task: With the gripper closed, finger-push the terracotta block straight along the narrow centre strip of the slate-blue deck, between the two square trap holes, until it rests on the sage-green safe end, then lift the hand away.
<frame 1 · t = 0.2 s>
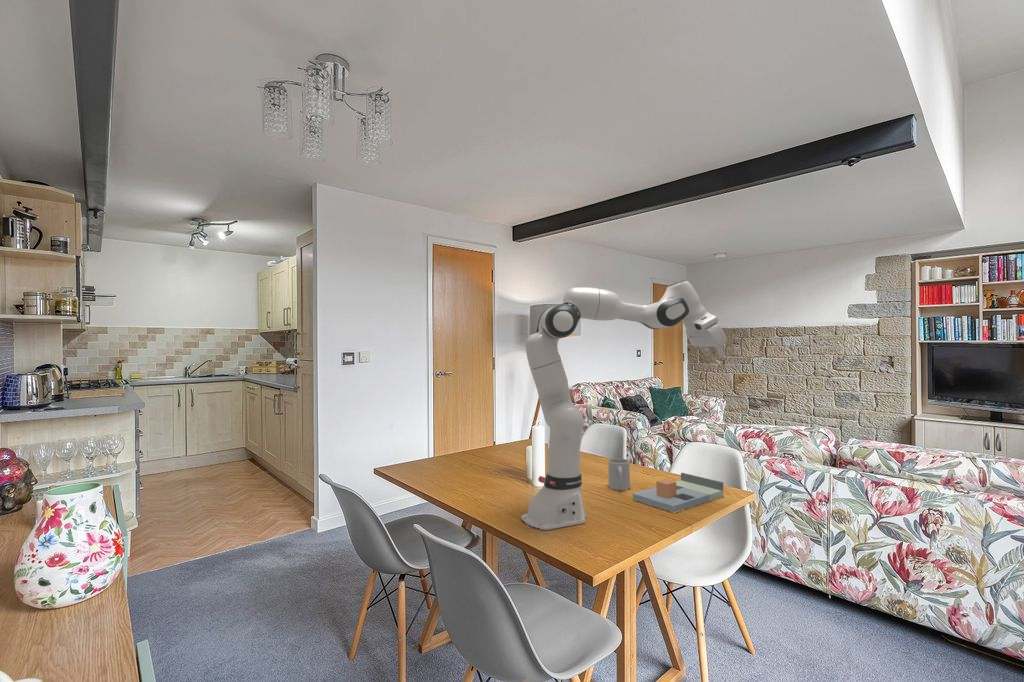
hand: (715, 355, 171), 54 cm above the table, tool tilted 30°, fingers open, 8 cm apart
mug: (619, 489, 194), on the table
block: (666, 495, 176), point 2 cm above the table, touching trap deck
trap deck: (678, 498, 180), on the table
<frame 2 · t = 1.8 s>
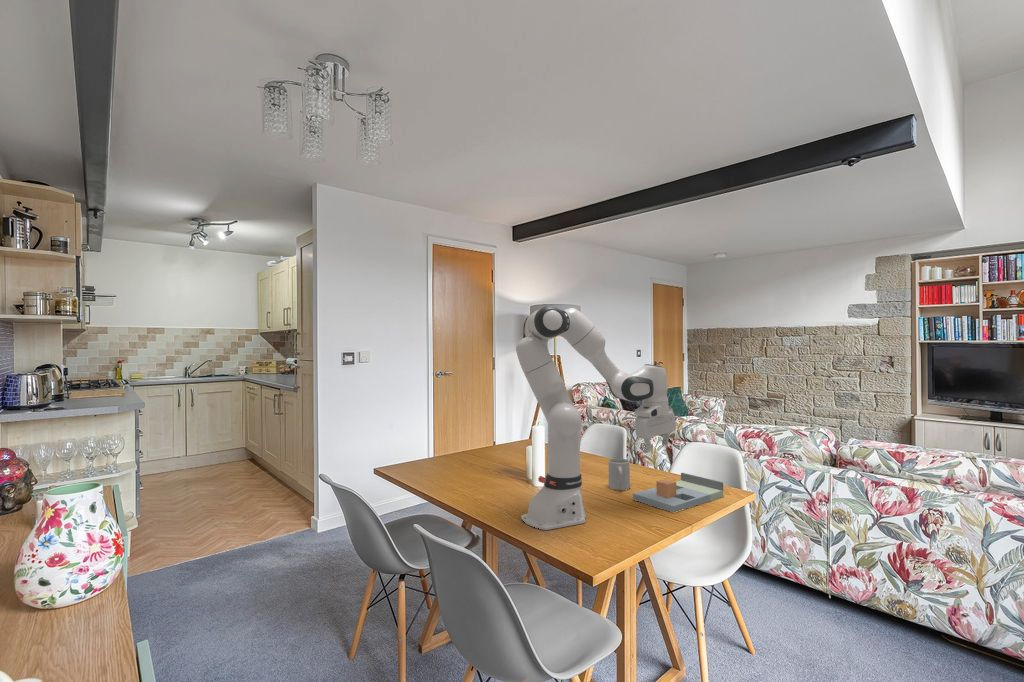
hand: (657, 447, 173), 21 cm above the table, tool pointing down, fingers open, 8 cm apart
nothing on the table moved.
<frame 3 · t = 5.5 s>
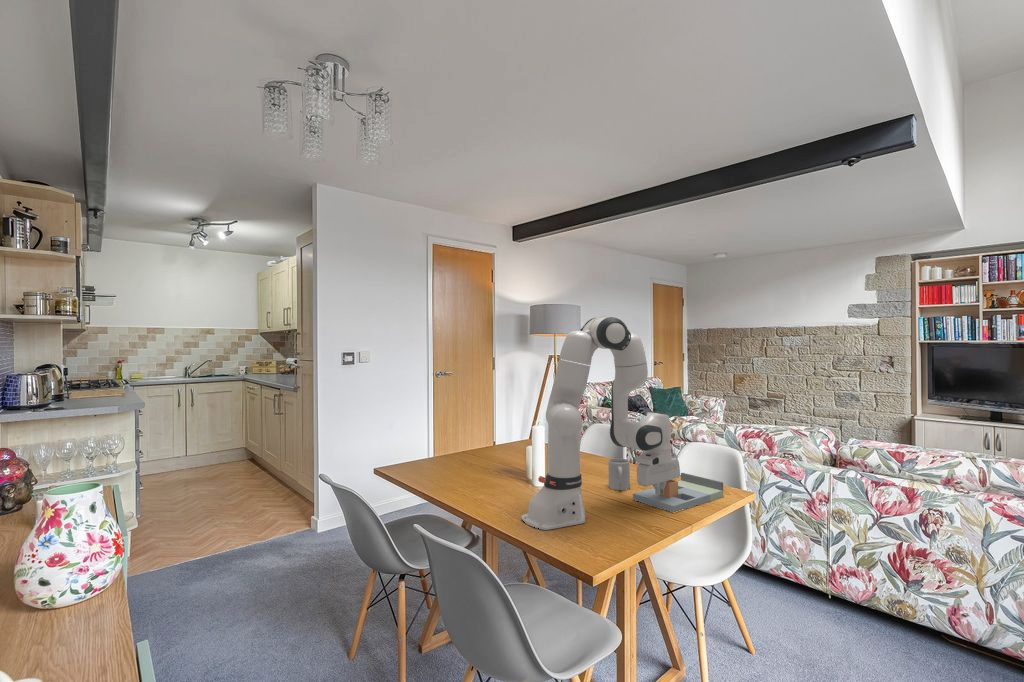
hand: (659, 494, 174), 4 cm above the table, tool pointing down, fingers closed
block: (668, 494, 177), point 3 cm above the table, touching gripper
everything else where it was.
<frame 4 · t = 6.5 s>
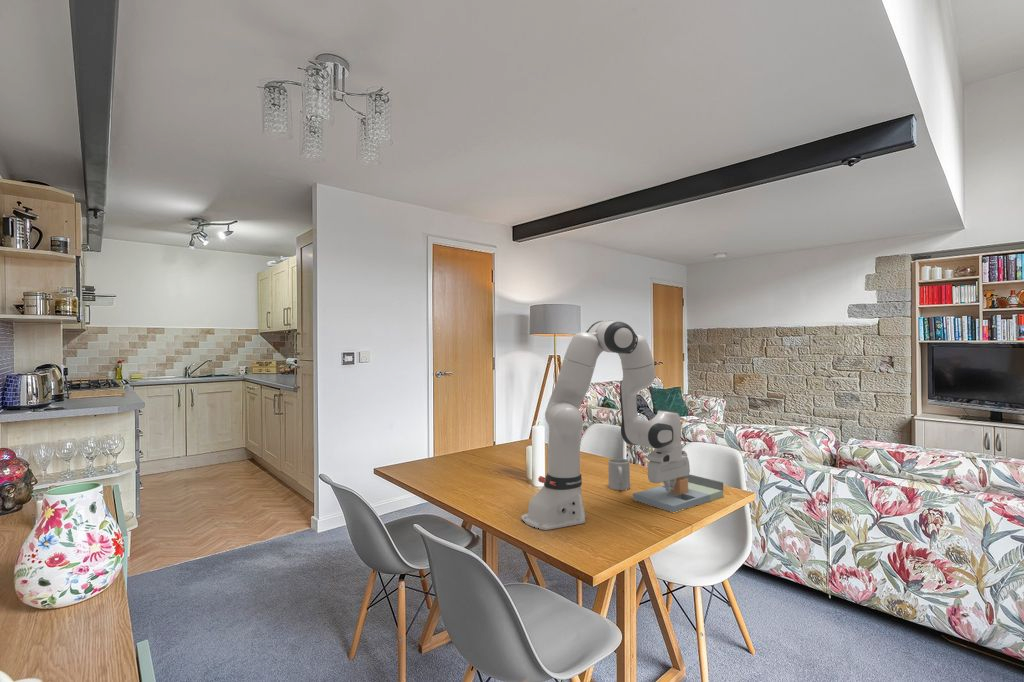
hand: (670, 491, 177), 4 cm above the table, tool pointing down, fingers closed
block: (678, 492, 180), point 3 cm above the table, touching gripper
everything else where it was.
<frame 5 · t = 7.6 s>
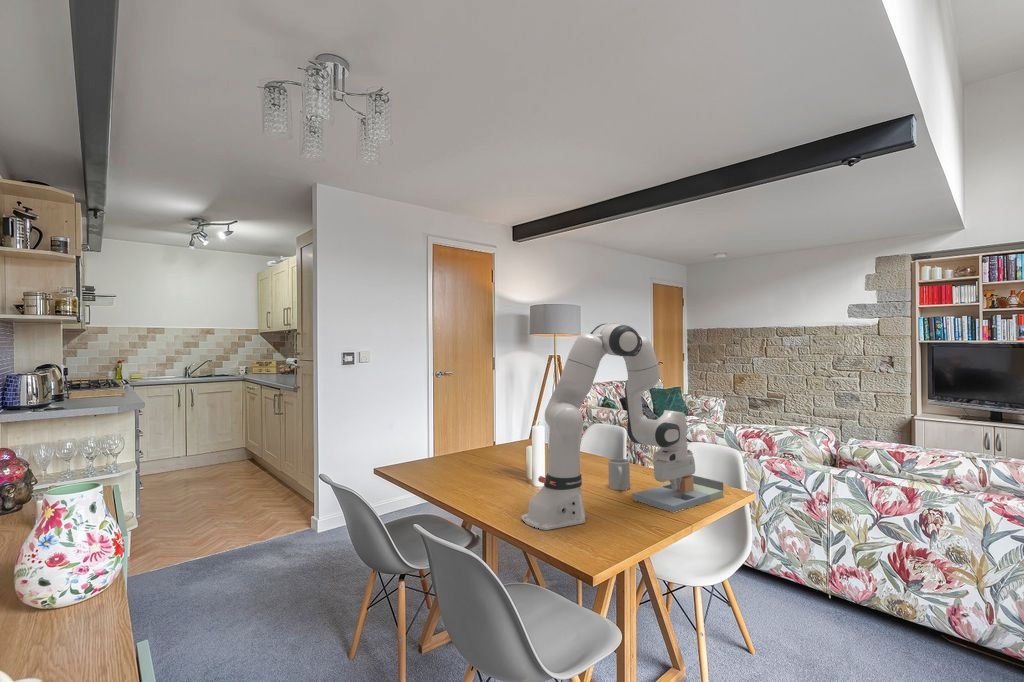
hand: (675, 489, 179), 4 cm above the table, tool pointing down, fingers closed
block: (683, 490, 182), point 2 cm above the table, touching gripper, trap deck
everything else where it was.
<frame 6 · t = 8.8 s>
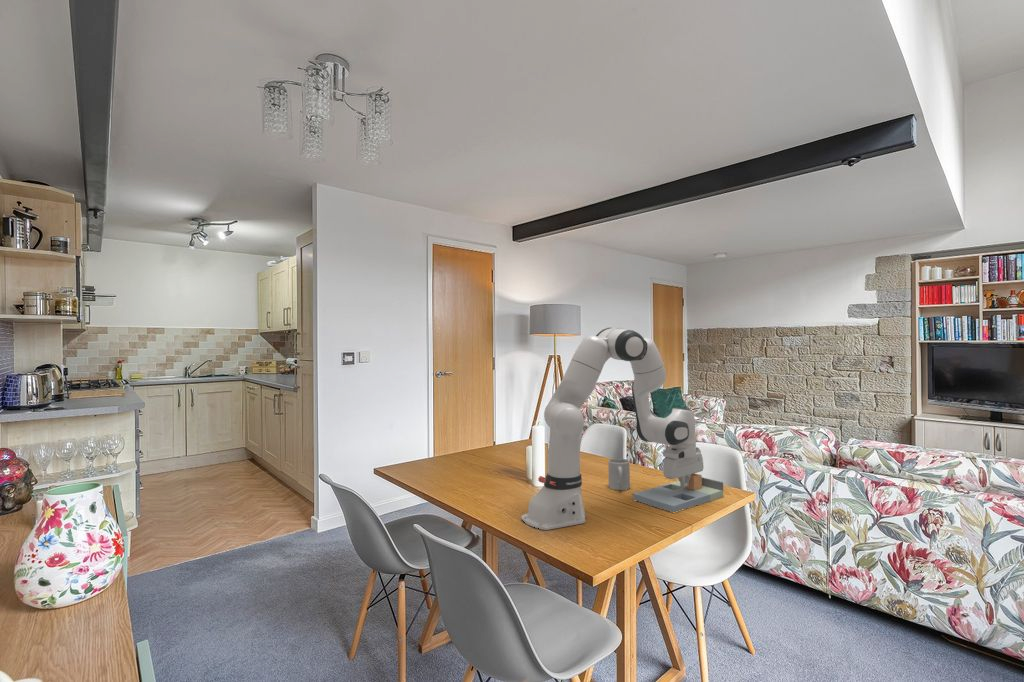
hand: (684, 486, 182), 4 cm above the table, tool pointing down, fingers closed
block: (692, 487, 185), point 3 cm above the table, touching gripper, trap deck
everything else where it was.
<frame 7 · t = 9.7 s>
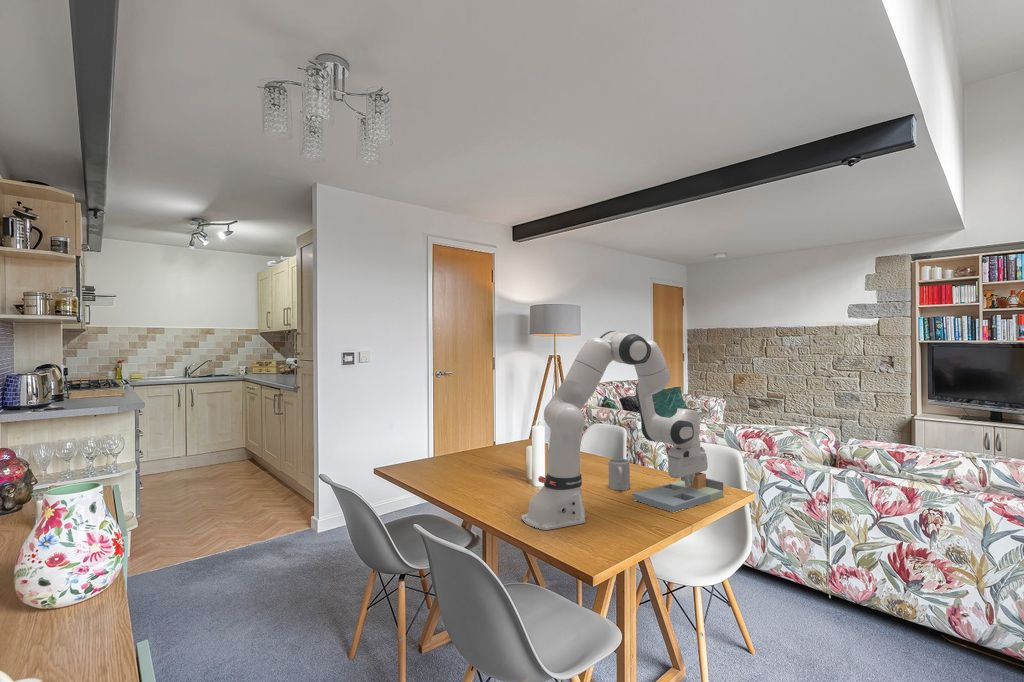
hand: (689, 485, 184), 4 cm above the table, tool pointing down, fingers closed
block: (696, 486, 187), point 2 cm above the table, touching gripper, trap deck
everything else where it was.
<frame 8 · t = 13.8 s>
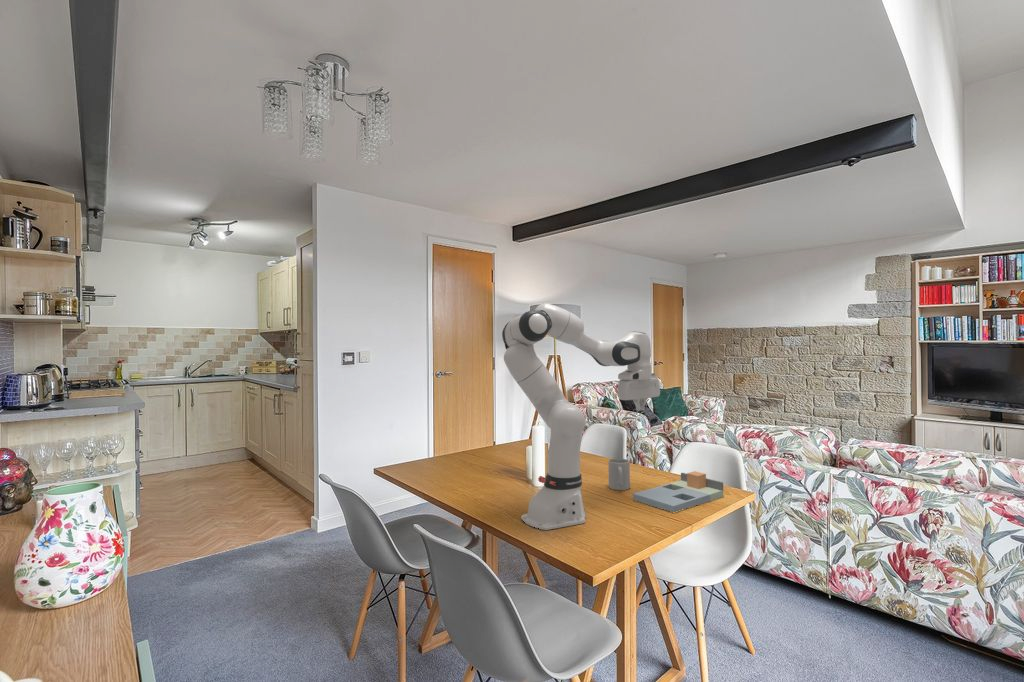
hand: (640, 410, 182), 33 cm above the table, tool pointing down, fingers closed
block: (696, 486, 187), point 2 cm above the table, touching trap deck
everything else where it was.
at the end: block inside the target area (1.5 cm from its centre), point 2.5 cm above the table; block tilted 0°; block touching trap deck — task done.
